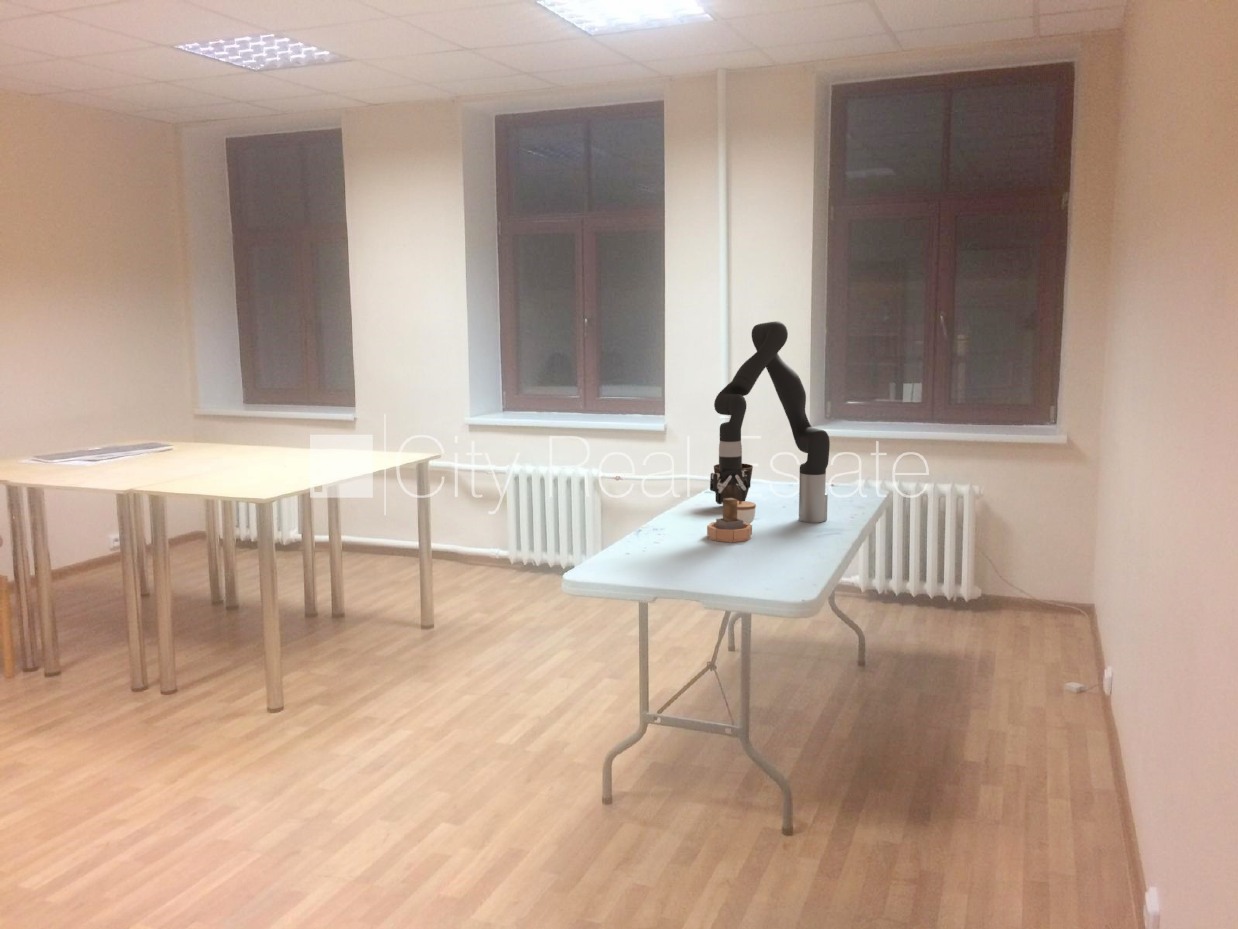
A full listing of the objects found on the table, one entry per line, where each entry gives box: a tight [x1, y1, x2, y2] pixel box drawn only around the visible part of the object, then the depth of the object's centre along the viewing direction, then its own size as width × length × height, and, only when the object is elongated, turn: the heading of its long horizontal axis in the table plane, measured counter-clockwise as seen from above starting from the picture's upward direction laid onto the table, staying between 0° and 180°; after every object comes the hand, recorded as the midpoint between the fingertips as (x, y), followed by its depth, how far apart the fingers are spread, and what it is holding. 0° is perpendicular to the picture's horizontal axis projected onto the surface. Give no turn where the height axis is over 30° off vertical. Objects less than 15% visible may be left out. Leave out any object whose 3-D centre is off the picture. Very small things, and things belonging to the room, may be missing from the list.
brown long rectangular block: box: [722, 498, 737, 522], centre depth 322 cm, size 4×4×12 cm
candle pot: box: [706, 517, 753, 543], centre depth 323 cm, size 14×14×6 cm
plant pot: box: [713, 462, 754, 505], centre depth 373 cm, size 15×15×16 cm
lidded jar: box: [737, 500, 757, 525], centre depth 341 cm, size 11×11×9 cm
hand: (730, 502), depth 322 cm, fingers open, 8 cm apart
